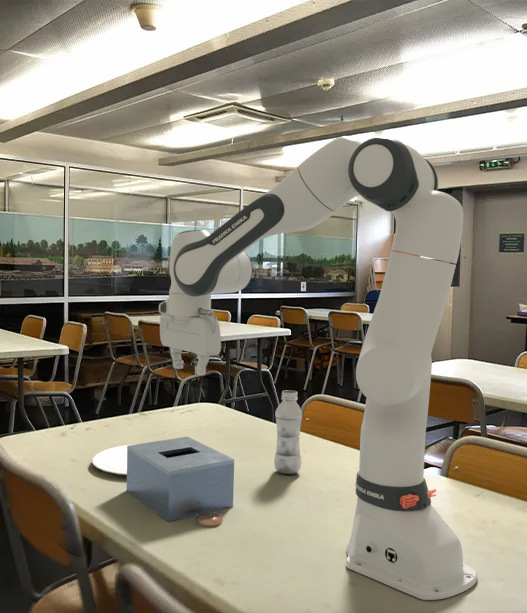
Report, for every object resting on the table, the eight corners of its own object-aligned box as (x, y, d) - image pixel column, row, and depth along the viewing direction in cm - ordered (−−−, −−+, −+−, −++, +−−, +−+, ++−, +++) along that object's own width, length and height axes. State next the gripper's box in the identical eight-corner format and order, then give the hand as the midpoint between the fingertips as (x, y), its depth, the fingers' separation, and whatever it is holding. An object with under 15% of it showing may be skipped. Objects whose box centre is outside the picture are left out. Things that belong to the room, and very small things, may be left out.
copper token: (227, 524, 121) (227, 518, 121) (206, 530, 118) (206, 524, 118) (213, 515, 125) (213, 510, 125) (192, 521, 122) (192, 515, 122)
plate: (122, 489, 138) (122, 481, 138) (74, 461, 157) (74, 454, 156) (213, 468, 154) (213, 461, 154) (159, 445, 173) (160, 438, 173)
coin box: (233, 506, 129) (234, 459, 129) (168, 521, 121) (169, 471, 120) (186, 478, 146) (187, 436, 145) (126, 490, 137) (127, 445, 136)
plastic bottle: (299, 478, 148) (301, 395, 147) (271, 475, 149) (273, 393, 148) (302, 469, 154) (305, 390, 153) (276, 467, 156) (278, 388, 154)
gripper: (229, 310, 125) (227, 377, 126) (180, 304, 142) (179, 364, 143) (202, 310, 122) (201, 380, 122) (155, 304, 138) (154, 366, 139)
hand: (188, 371), depth 133 cm, fingers open, 8 cm apart
